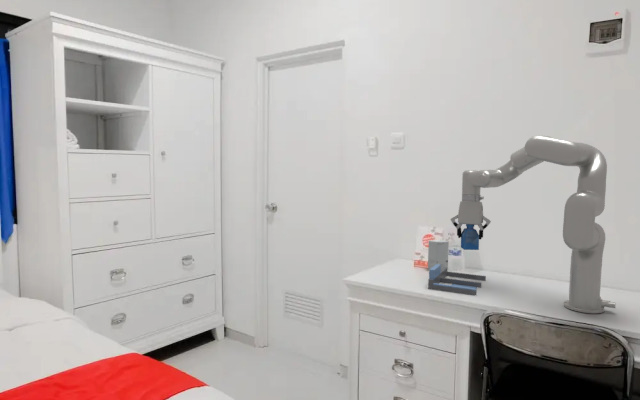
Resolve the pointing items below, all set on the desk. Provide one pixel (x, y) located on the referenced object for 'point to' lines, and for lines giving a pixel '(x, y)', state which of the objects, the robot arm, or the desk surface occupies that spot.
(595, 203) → the robot arm
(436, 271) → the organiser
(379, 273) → the desk surface
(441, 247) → the skincare box
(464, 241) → the perfume bottle
